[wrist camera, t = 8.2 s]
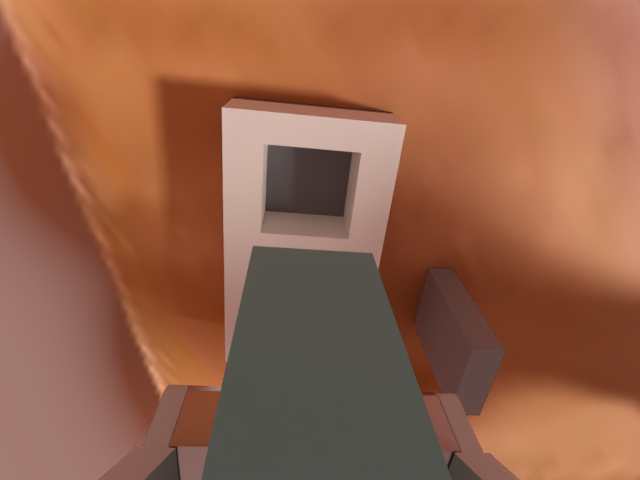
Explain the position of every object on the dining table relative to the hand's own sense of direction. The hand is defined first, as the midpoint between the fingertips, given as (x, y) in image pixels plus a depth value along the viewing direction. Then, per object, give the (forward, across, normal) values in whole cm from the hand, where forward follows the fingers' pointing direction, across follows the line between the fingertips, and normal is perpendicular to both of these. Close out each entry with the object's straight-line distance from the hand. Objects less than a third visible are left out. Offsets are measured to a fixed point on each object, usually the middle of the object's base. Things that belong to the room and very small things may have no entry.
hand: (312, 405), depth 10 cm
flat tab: (+19, -11, +9) cm, 24 cm away
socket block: (+19, 0, +4) cm, 20 cm away
